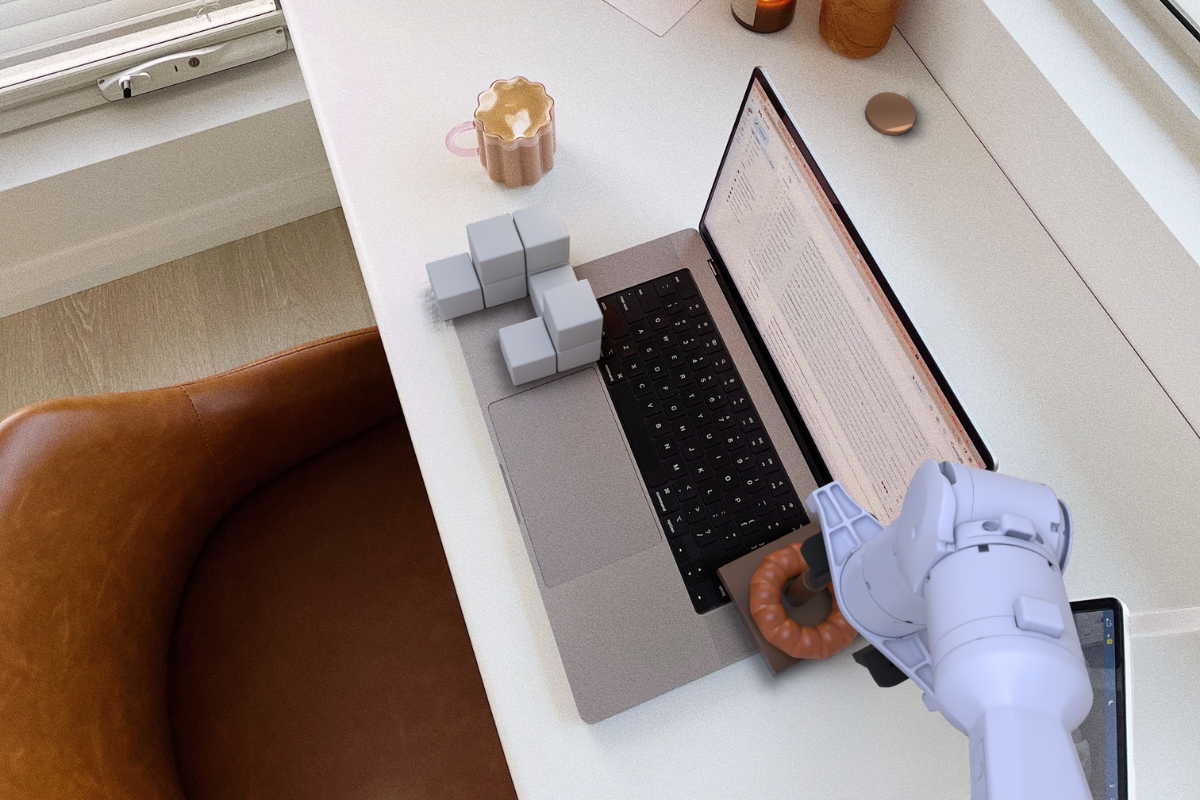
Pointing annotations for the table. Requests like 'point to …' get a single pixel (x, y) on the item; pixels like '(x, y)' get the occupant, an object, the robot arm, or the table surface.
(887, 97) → the coaster
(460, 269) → the puzzle cube
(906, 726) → the table surface
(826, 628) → the ring
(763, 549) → the peg stand
